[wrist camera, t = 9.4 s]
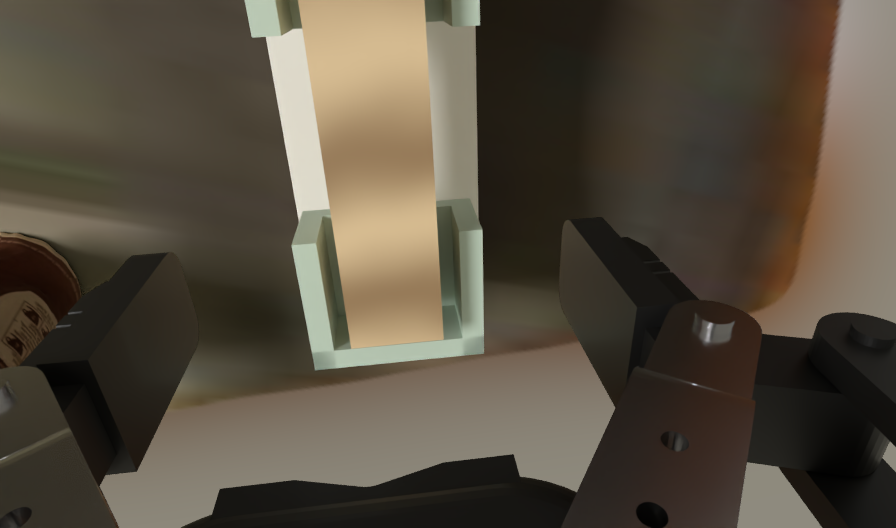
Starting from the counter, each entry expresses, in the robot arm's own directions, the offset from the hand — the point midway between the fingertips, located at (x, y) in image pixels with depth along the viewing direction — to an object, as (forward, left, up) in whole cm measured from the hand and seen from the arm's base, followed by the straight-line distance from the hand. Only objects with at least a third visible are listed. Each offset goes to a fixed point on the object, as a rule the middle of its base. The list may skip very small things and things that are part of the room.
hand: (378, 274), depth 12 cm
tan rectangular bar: (0, 0, -14) cm, 14 cm away
